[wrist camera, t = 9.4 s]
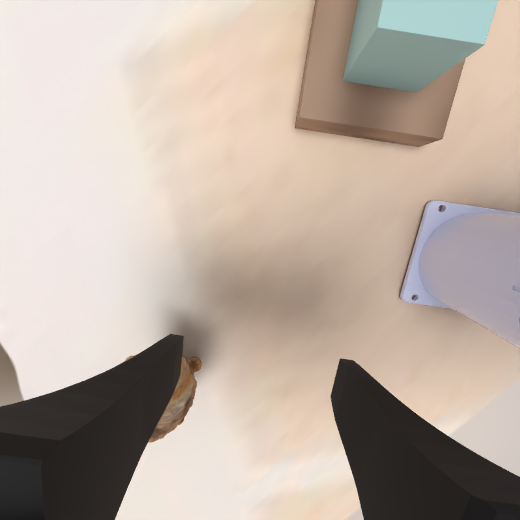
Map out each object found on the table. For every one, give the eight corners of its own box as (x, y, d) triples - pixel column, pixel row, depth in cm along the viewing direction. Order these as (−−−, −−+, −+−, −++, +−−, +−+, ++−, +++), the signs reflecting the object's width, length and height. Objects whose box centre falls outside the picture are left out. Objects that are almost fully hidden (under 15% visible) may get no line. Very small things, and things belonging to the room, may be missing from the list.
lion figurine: (173, 301, 22) (111, 370, 13) (227, 334, 22) (201, 421, 14) (98, 419, 25) (7, 539, 16) (147, 445, 25) (84, 574, 17)
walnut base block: (459, -5, 16) (493, -40, 14) (419, 146, 19) (442, 138, 16) (319, -27, 16) (329, -66, 14) (294, 127, 18) (299, 117, 16)
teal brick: (439, 3, 15) (527, -96, 10) (416, 92, 16) (484, 44, 11) (360, -10, 14) (407, -115, 10) (342, 80, 16) (377, 27, 11)
